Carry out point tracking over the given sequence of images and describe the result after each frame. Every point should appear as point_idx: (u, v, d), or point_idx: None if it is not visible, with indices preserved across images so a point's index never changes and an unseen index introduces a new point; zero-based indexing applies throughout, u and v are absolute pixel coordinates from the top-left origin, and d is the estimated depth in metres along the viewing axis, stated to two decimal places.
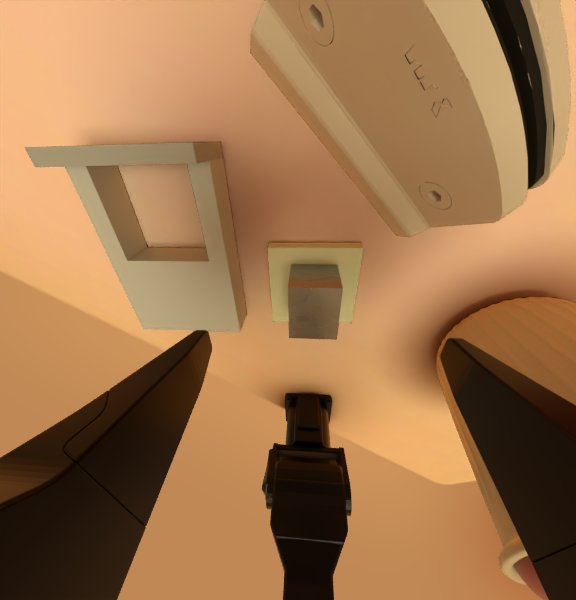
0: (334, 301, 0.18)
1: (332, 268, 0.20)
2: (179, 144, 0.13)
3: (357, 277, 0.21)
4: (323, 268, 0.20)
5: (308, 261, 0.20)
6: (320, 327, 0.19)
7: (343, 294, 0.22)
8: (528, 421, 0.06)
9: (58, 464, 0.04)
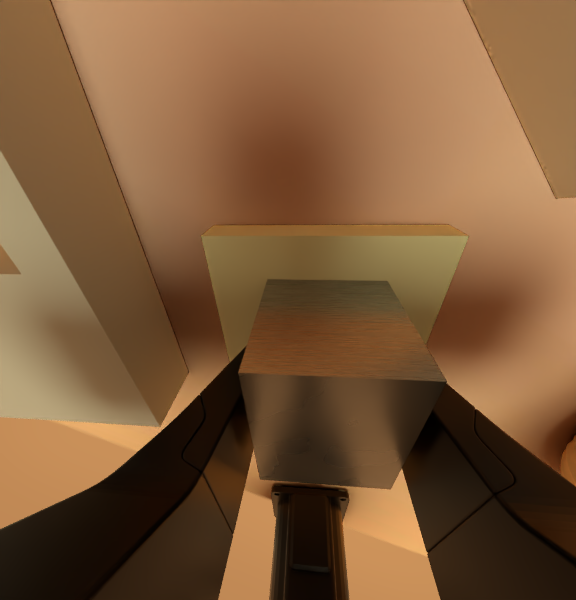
0: (404, 415, 0.05)
1: (378, 293, 0.07)
2: None
3: (434, 312, 0.08)
4: (353, 292, 0.07)
5: (313, 272, 0.08)
6: (349, 466, 0.07)
7: None
8: None
9: (185, 474, 0.04)
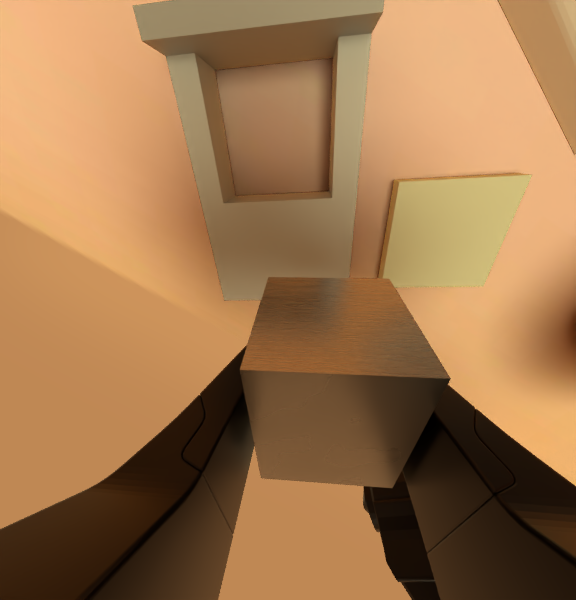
0: (406, 413, 0.05)
1: (380, 290, 0.07)
2: None
3: (510, 219, 0.16)
4: (355, 290, 0.07)
5: (450, 199, 0.16)
6: (350, 465, 0.07)
7: (484, 245, 0.17)
8: None
9: (185, 473, 0.04)
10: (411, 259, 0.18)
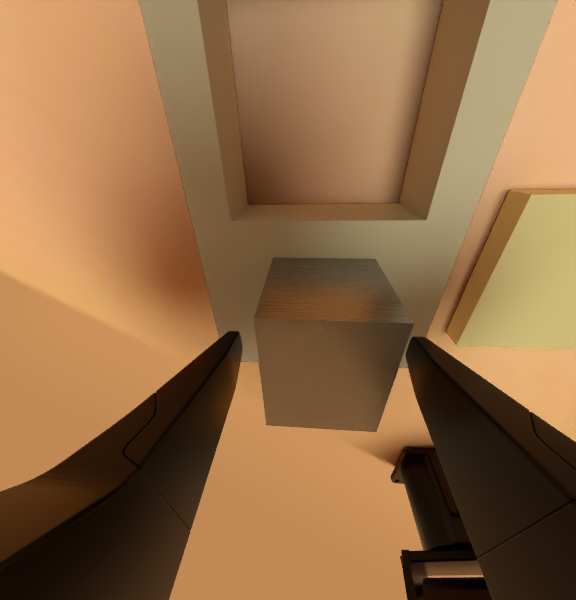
0: (383, 355, 0.06)
1: (367, 267, 0.09)
2: None
3: None
4: (346, 267, 0.09)
5: None
6: (341, 408, 0.08)
7: None
8: (472, 418, 0.06)
9: (123, 469, 0.04)
10: (514, 310, 0.12)
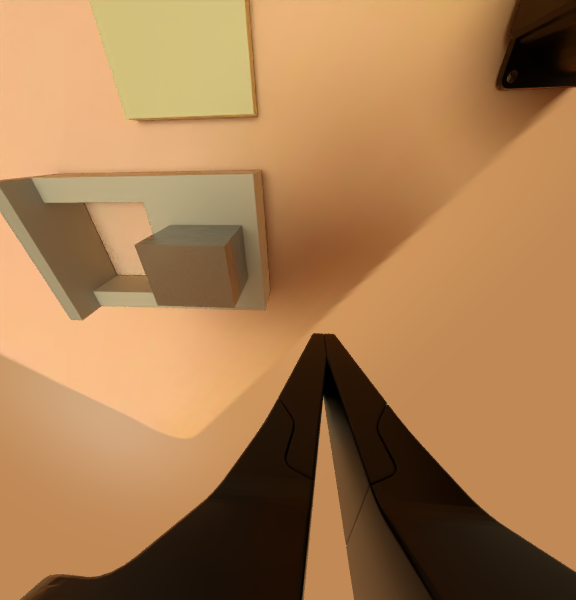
0: (157, 254, 0.13)
1: None
2: None
3: None
4: None
5: (121, 34, 0.13)
6: (205, 269, 0.13)
7: None
8: (340, 411, 0.06)
9: (298, 482, 0.04)
10: (205, 71, 0.13)
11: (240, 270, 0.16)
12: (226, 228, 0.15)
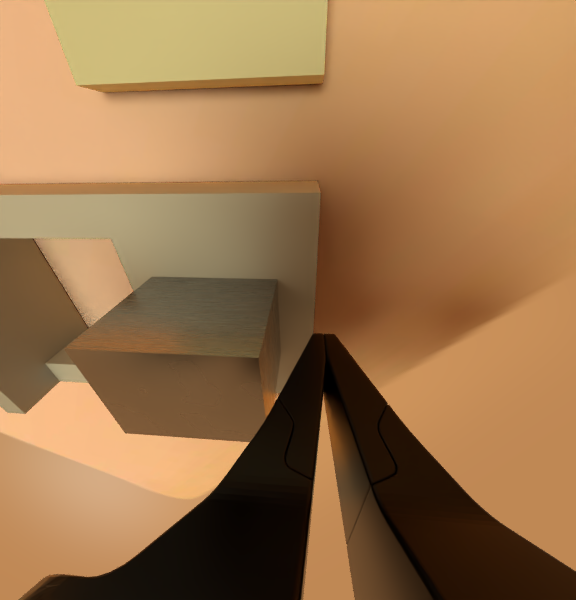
0: (115, 364, 0.06)
1: None
2: None
3: None
4: None
5: None
6: (216, 391, 0.06)
7: None
8: (340, 411, 0.06)
9: (297, 482, 0.04)
10: None
11: (275, 360, 0.09)
12: (251, 289, 0.08)
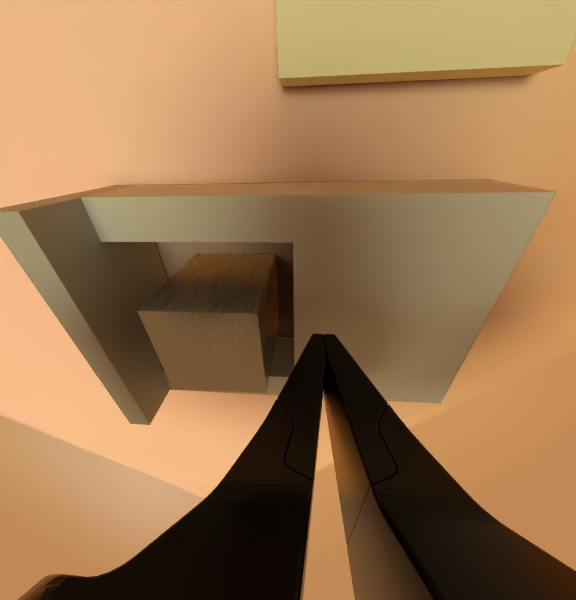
0: None
1: None
2: (5, 239, 0.07)
3: None
4: None
5: None
6: None
7: None
8: (340, 411, 0.06)
9: (297, 482, 0.04)
10: None
11: (219, 366, 0.09)
12: (238, 299, 0.08)
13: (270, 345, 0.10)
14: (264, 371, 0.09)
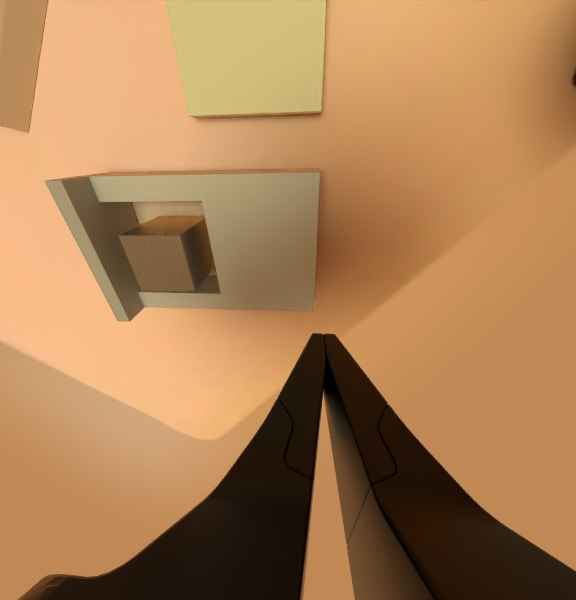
0: None
1: None
2: (53, 195, 0.14)
3: None
4: None
5: (193, 29, 0.12)
6: None
7: None
8: (340, 411, 0.06)
9: (297, 482, 0.04)
10: (276, 67, 0.13)
11: (165, 272, 0.16)
12: (173, 231, 0.15)
13: (200, 267, 0.18)
14: (191, 275, 0.16)
